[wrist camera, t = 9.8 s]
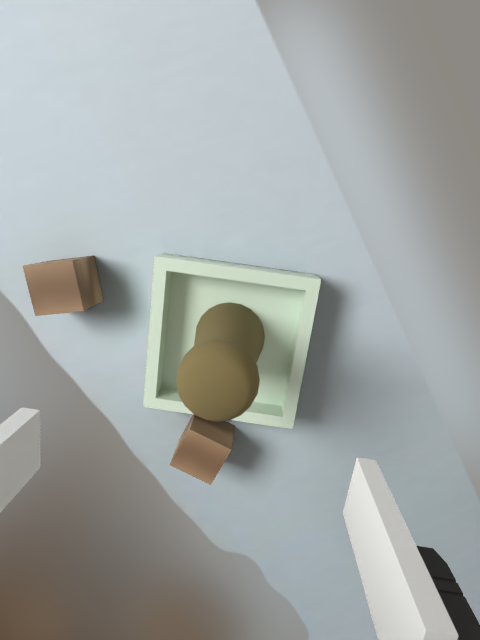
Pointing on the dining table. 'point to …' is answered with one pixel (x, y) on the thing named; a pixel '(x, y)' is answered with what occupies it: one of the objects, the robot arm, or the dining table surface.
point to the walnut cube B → (203, 448)
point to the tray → (242, 288)
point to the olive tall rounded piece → (222, 363)
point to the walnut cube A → (63, 285)
